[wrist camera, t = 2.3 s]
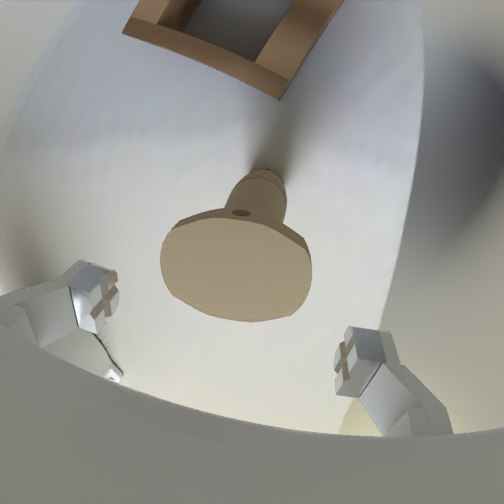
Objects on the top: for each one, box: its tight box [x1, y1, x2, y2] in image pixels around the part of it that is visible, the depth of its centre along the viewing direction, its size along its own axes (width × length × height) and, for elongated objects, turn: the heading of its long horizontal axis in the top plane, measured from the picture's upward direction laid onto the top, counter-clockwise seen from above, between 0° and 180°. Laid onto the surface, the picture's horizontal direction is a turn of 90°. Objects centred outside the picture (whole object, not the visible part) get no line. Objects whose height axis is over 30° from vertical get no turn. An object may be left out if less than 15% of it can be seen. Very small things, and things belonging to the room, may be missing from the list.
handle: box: [160, 168, 312, 322], centre depth 19 cm, size 5×6×15 cm
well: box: [122, 0, 344, 101], centre depth 17 cm, size 12×13×5 cm
